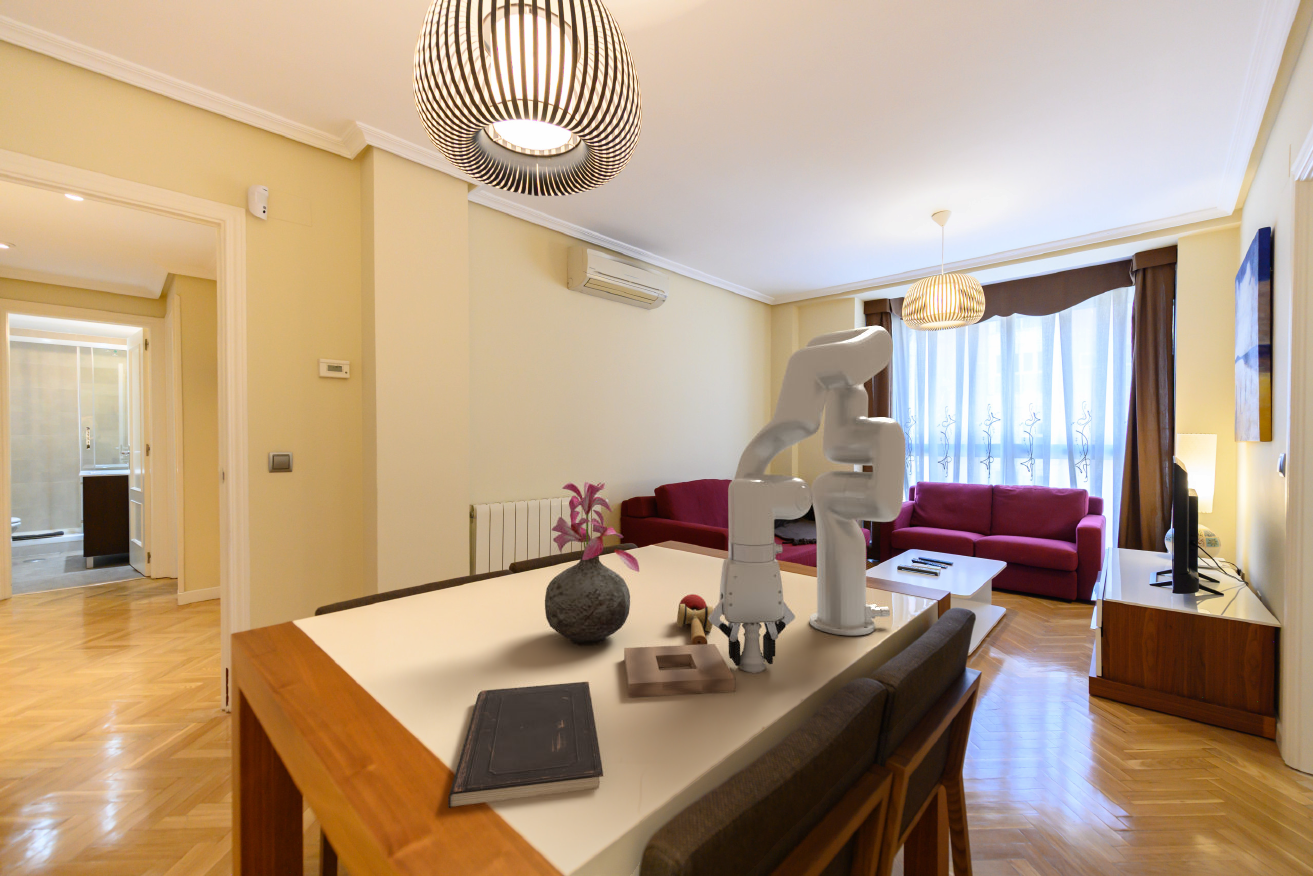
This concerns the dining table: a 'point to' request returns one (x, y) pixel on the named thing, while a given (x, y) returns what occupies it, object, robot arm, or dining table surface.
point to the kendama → (695, 617)
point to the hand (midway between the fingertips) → (751, 660)
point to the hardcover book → (528, 744)
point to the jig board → (702, 678)
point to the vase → (587, 578)
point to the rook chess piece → (752, 649)
